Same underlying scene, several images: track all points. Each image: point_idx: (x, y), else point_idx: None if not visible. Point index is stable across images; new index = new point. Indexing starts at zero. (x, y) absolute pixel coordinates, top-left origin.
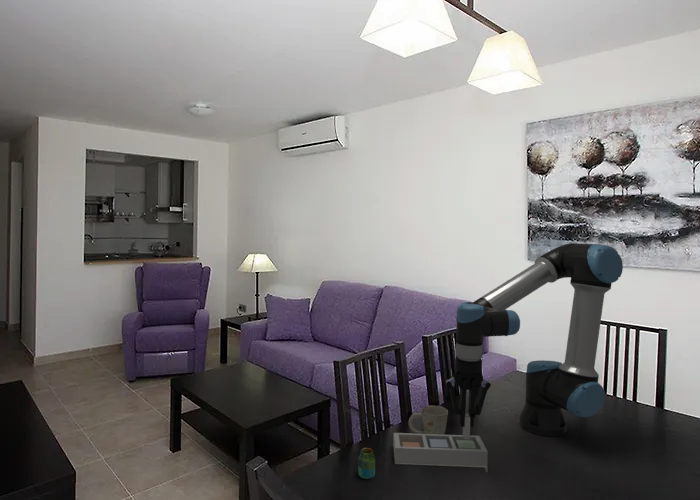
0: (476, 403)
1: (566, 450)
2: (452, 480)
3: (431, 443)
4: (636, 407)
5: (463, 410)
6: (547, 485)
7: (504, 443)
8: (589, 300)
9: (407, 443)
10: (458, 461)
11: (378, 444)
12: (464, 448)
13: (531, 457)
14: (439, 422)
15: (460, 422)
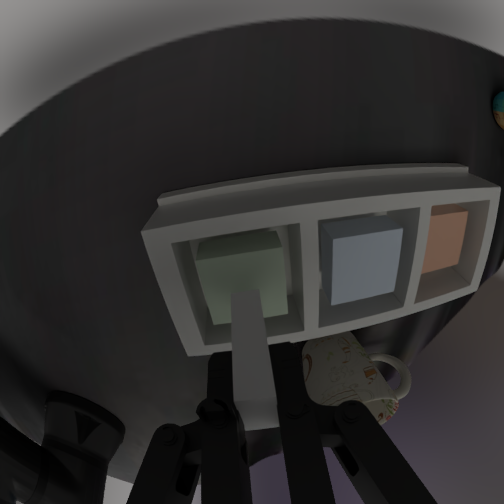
0: (192, 497)
1: (23, 348)
2: (300, 103)
3: (395, 257)
4: (23, 431)
5: (301, 441)
6: (10, 176)
7: (132, 369)
8: None
9: (448, 257)
10: (280, 189)
11: None
12: (255, 249)
13: (61, 316)
14: (344, 385)
15: (299, 362)
